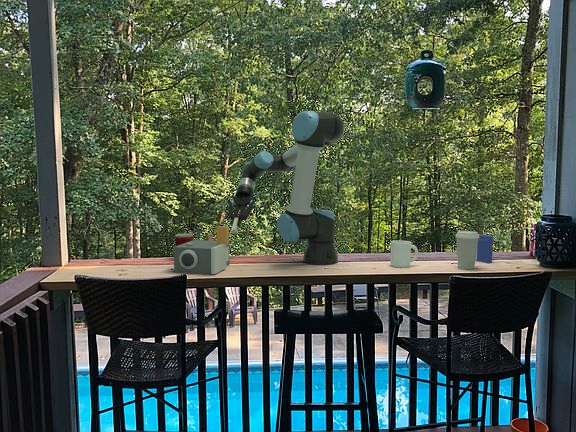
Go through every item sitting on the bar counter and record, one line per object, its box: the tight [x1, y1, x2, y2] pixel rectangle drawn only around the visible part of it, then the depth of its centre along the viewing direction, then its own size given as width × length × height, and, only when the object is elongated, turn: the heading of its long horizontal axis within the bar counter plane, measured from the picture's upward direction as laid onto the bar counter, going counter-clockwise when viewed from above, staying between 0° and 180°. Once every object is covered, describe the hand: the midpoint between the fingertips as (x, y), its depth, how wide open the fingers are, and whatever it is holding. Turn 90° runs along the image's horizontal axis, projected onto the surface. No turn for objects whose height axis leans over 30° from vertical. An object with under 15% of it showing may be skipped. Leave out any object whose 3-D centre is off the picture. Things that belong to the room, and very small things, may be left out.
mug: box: [389, 239, 419, 268], centre depth 236 cm, size 12×8×10 cm
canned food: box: [174, 233, 194, 247], centre depth 250 cm, size 8×8×11 cm
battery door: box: [210, 225, 230, 275], centre depth 221 cm, size 4×13×17 cm, turn 166°
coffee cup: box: [455, 230, 480, 270], centre depth 232 cm, size 10×10×15 cm
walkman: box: [475, 233, 494, 264], centre depth 247 cm, size 8×3×12 cm, turn 39°
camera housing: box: [173, 239, 230, 275], centre depth 228 cm, size 16×22×11 cm
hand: (233, 231), depth 240 cm, fingers closed
